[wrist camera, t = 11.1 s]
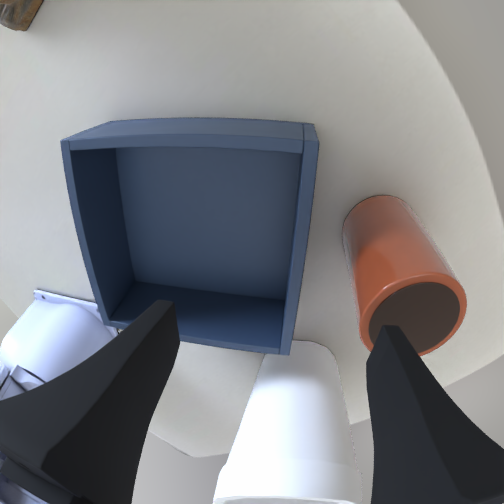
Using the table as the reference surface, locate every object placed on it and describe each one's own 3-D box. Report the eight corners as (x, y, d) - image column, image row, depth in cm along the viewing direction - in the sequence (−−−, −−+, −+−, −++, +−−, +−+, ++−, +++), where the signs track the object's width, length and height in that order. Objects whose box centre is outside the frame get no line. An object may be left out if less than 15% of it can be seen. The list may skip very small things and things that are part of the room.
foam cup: (337, 313, 22) (345, 489, 11) (364, 381, 26) (372, 515, 15) (224, 342, 26) (183, 491, 15) (270, 400, 29) (252, 522, 18)
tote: (132, 281, 24) (103, 325, 19) (109, 121, 17) (59, 140, 13) (293, 302, 22) (289, 356, 18) (313, 123, 16) (319, 141, 12)
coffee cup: (335, 262, 20) (346, 359, 13) (348, 189, 18) (377, 268, 11) (406, 269, 20) (441, 361, 13) (426, 201, 17) (485, 279, 10)
